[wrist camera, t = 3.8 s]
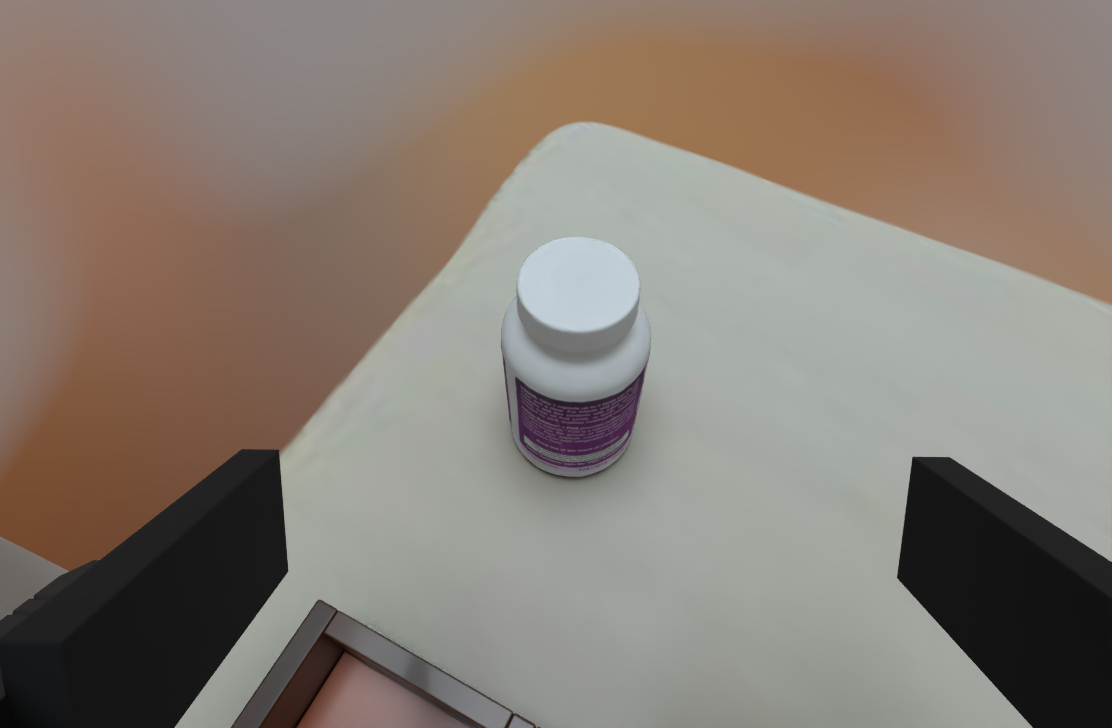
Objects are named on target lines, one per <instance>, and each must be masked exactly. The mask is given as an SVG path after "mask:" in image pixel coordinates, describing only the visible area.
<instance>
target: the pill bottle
mask: <svg viewBox="0 0 1112 728" xmlns="http://www.w3.org/2000/svg"><path fill="white" fill-rule="evenodd" d="M639 297H640V280H639V275H638V273H637V270H636V268H635V266H634V264H633V263H632V261H631V260H630V259H629V258H628V257H627V256H626V255H625V254H624V253H623V252H622V251H621V250H619V249H618V248H616V247H615V246H613V245H611V244H609V243H606V242H604V241H601V240H598V239H594V238H588V237H566V238H561V239H557V240H554V241H551V242H548V243H546V244H544V245H542V246H540V247H539V248H537V249H536V250H535V251H533V252H532V253H531V254H530V255H529V256H528V257H527V259H526V260H525V261H524V263H523V264H522V266H521V268H520V271H519V274H518V278H517V296H516V297H515V298H514V299H513V301H512V302H511V304H510V305H509V307H508V309H507V311H506V314H505V317H504V320H503V324H502V330H501V349H502V355H503V365H504V374H505V384H506V392H507V400H508V409H509V419H510V423H511V429H512V434H513V438H514V440H515V442H516V444H517V446H518V448H519V450H520V451H521V452H522V454H523V455H524V456H525V457H526V458H527V459H528V460H529V461H531V462H532V463H533V464H534V465H536V466H537V467H538V468H540V469H542V470H544V471H546V472H549V473H552V474H556V475H561V476H568V477H582V476H586V475H590V474H593V473H596V472H598V471H601V470H603V469H605V468H607V467H608V466H610V465H611V464H612V463H614V462H615V461H616V460H617V459H618V458H620V456H621V455H622V454H623V452H624V451H625V449H626V448H627V446H628V444H629V442H630V439H631V436H632V432H633V428H634V424H635V420H636V414H637V410H638V406H639V403H640V398H641V394H642V387H643V382H644V377H645V372H646V367H647V363H648V359H649V354H650V347H651V328H650V323H649V320H648V317H647V314H646V312H645V310H644V308H643V306H642V305H641V303H640V301H639Z"/></svg>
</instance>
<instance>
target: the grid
mask: <svg viewBox="0 0 1112 728" xmlns="http://www.w3.org/2000/svg"><path fill="white" fill-rule="evenodd" d="M231 728H536V726H535V724H533V723H532V722H530V721H528V720H527V719H525V718H523V717H521V716H520V715H518V714H515V713H514V714H513V712H512V711H511V710H509V709H508V708H506V707H504V706H503V705H501V704H499V703H497V702H496V701H494V700H492V699H491V698H489V697H487V696H485V695H484V694H482V693H480V692H479V691H477V690H475V689H473V688H472V687H470V686H468V685H467V684H465V683H463V682H461V681H460V680H458V679H456V678H454V677H453V676H451V675H449V674H448V673H446V672H444V671H442V670H441V669H439V668H437V667H436V666H434V665H432V664H430V663H429V662H427V661H425V660H424V659H422V658H420V657H418V656H417V655H415V654H413V653H412V652H410V651H408V650H406V649H405V648H403V647H401V646H400V645H398V644H396V643H394V642H393V641H391V640H389V639H387V638H386V637H384V636H382V635H381V634H379V633H377V632H375V631H374V630H372V629H370V628H369V627H367V626H365V625H363V624H362V623H360V622H358V621H357V620H355V619H353V618H351V617H350V616H348V615H346V614H345V613H343V612H341V611H338V610H337V609H336V608H334V607H332V606H331V605H329V604H327V603H325V602H324V601H322V600H318V601H317V602H316V603H315V605H314V606H313V608H312V609H311V611H310V612H309V614H308V615H307V617H306V618H305V620H304V621H303V623H302V624H301V625H300V627H299V628H298V630H297V631H296V633H295V634H294V636H293V637H292V639H291V640H290V642H289V643H288V645H287V646H286V647H285V649H284V650H283V652H282V653H281V655H280V656H279V658H278V659H277V661H276V662H275V664H274V665H273V667H272V668H271V669H270V671H269V672H268V674H267V675H266V677H265V678H264V680H263V681H262V683H261V684H260V686H259V687H258V689H257V690H256V691H255V693H254V694H253V696H252V697H251V699H250V700H249V702H248V703H247V705H246V706H245V708H244V709H243V711H242V712H241V713H240V715H239V716H238V718H237V719H236V721H235V722H234V724H233V725H232V727H231ZM537 728H540V727H537Z"/></svg>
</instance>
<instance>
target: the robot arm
mask: <svg viewBox="0 0 1112 728" xmlns="http://www.w3.org/2000/svg"><path fill="white" fill-rule="evenodd" d="M287 572H288V561H287V549H286V536H285V523H284V510H283V497H282V485H281V472H280V459H279V450H251V449H248V450H247V449H242V450H240V451H239V452H238V453H237V454H235V455H234V456H233V457H231V458H230V459H229V460H228V461H226V462H225V463H224V464H223V465H221V466H220V467H219V468H217V469H216V470H215V471H213V472H212V473H211V474H210V475H208V476H207V477H206V478H205V479H203V480H202V481H201V482H199V483H198V484H197V485H196V486H195V487H193V488H192V489H190V490H189V491H188V492H187V493H185V494H184V495H183V496H182V497H180V498H179V499H178V500H176V501H175V502H174V503H173V504H171V505H170V506H169V507H168V508H166V509H165V510H164V511H162V512H161V513H160V514H159V515H157V516H156V517H155V518H154V519H152V520H151V521H150V522H148V523H147V524H146V525H144V526H143V527H142V528H141V529H139V530H138V531H137V532H135V533H134V534H133V535H132V536H130V537H129V538H128V539H126V540H125V541H124V542H123V543H121V544H120V545H119V546H118V547H116V548H115V549H114V550H112V551H111V552H110V553H109V554H107V555H106V556H105V557H103V558H102V559H101V560H100V561H96V560H94V561H91V562H89V563H87V564H85V565H83V566H80V567H78V568H76V569H74V570H72V571H70V572H68V573H65V574H63V575H61V576H59V577H58V578H56V579H55V580H54V581H52V582H51V583H50V584H48V585H47V586H46V587H44V588H43V589H42V590H40V591H39V592H38V593H36V594H35V595H34V599H28V600H27V601H26V602H24V603H23V604H22V605H20V606H19V607H18V608H16V609H15V610H14V611H13V614H12V615H7V616H6V617H4V618H3V619H2V620H0V728H174V727H175V726H176V724H177V723H178V722H179V720H180V719H181V718H182V716H183V715H184V714H185V712H186V711H187V709H188V708H189V707H190V705H191V704H192V703H193V701H194V700H195V698H196V697H197V696H198V694H199V693H200V692H201V690H202V689H203V687H204V686H205V685H206V683H207V682H208V681H209V679H210V678H211V676H212V675H213V674H214V672H215V671H216V670H217V668H218V667H219V666H220V664H221V663H222V661H223V660H224V659H225V657H226V656H227V655H228V653H229V652H230V650H231V649H232V648H233V646H234V645H235V644H236V642H237V641H238V639H239V638H240V637H241V635H242V634H243V633H244V631H245V630H246V629H247V627H248V626H249V624H250V623H251V622H252V620H253V619H254V618H255V616H256V615H257V613H258V612H259V611H260V609H261V608H262V607H263V605H264V604H265V602H266V601H267V600H268V598H269V597H270V596H271V594H272V593H273V592H274V590H275V589H276V587H277V586H278V585H279V583H280V582H281V581H282V579H283V578H284V576H285V575H286V574H287ZM897 578H898V579H899V581H900V582H901V583H902V584H903V585H904V586H905V587H906V588H907V589H908V590H909V592H910V593H911V594H912V595H913V596H914V597H915V598H916V599H917V600H918V601H919V603H920V604H921V605H922V606H923V607H924V608H925V609H926V610H927V611H928V613H929V614H930V615H931V616H932V617H933V618H934V619H935V620H936V621H937V622H938V624H939V625H940V626H941V627H942V628H943V629H944V630H945V631H946V632H947V633H948V635H949V636H950V637H951V638H952V639H953V640H954V641H955V642H956V643H957V644H958V646H959V647H960V648H961V649H962V650H963V651H964V652H965V653H966V654H967V655H968V657H969V658H970V659H971V660H972V661H973V662H974V663H975V664H976V665H977V666H978V668H979V669H980V670H981V671H982V672H983V673H984V674H985V675H986V676H987V677H988V679H989V680H990V681H991V682H992V683H993V684H994V685H995V686H996V687H997V689H998V690H999V691H1000V692H1001V693H1002V694H1003V695H1004V696H1005V697H1006V698H1007V700H1008V701H1009V702H1010V703H1011V704H1012V705H1013V706H1014V707H1015V708H1016V709H1017V711H1018V712H1019V713H1020V714H1021V715H1022V716H1023V717H1024V718H1025V719H1026V720H1027V722H1028V723H1029V724H1030V725H1031V726H1032V727H1033V728H1112V562H1111V561H1109V560H1107V559H1106V558H1104V557H1103V556H1101V555H1100V554H1098V553H1097V552H1095V551H1094V550H1092V549H1090V548H1089V547H1087V546H1086V545H1084V544H1083V543H1081V542H1080V541H1078V540H1077V539H1075V538H1073V537H1072V536H1070V535H1069V534H1067V533H1066V532H1064V531H1063V530H1061V529H1060V528H1058V527H1056V526H1055V525H1053V524H1052V523H1050V522H1049V521H1047V520H1046V519H1044V518H1043V517H1041V516H1039V515H1038V514H1036V513H1035V512H1033V511H1032V510H1030V509H1029V508H1027V507H1026V506H1024V505H1022V504H1021V503H1019V502H1018V501H1016V500H1015V499H1013V498H1012V497H1010V496H1009V495H1007V494H1005V493H1004V492H1002V491H1001V490H999V489H998V488H996V487H995V486H993V485H992V484H990V483H988V482H987V481H985V480H984V479H982V478H981V477H979V476H978V475H976V474H975V473H973V472H971V471H970V470H968V469H967V468H965V467H964V466H962V465H961V464H959V463H958V462H956V461H954V460H953V459H951V458H950V457H913V458H912V466H911V474H910V481H909V489H908V497H907V505H906V513H905V520H904V528H903V536H902V544H901V552H900V559H899V567H898V575H897Z"/></svg>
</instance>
